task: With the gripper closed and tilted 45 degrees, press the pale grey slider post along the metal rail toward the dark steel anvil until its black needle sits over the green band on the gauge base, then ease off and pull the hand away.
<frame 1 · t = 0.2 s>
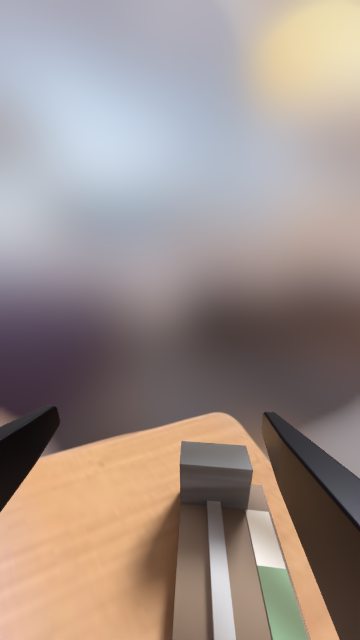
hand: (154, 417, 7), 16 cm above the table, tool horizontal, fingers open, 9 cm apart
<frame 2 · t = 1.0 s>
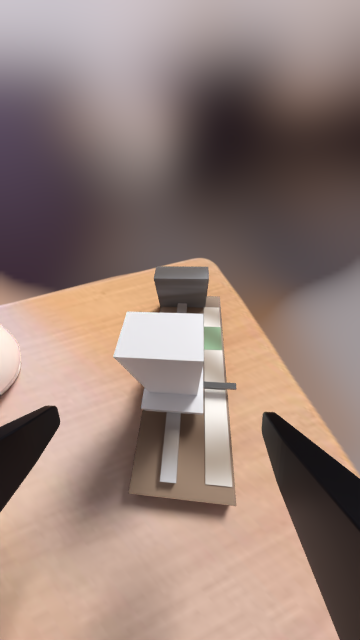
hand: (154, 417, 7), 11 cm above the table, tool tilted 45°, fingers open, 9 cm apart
slider: (192, 368, 12), point 7 cm above the table, slide at 0.0 cm
gauge base: (187, 370, 19), on the table
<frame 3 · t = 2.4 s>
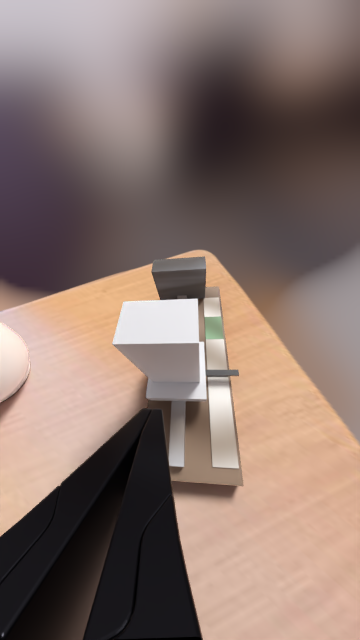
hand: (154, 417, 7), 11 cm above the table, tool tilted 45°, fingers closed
lidded jar: (7, 377, 21), on the table
slider: (192, 355, 12), point 7 cm above the table, slide at 0.0 cm
gauge base: (190, 361, 19), on the table
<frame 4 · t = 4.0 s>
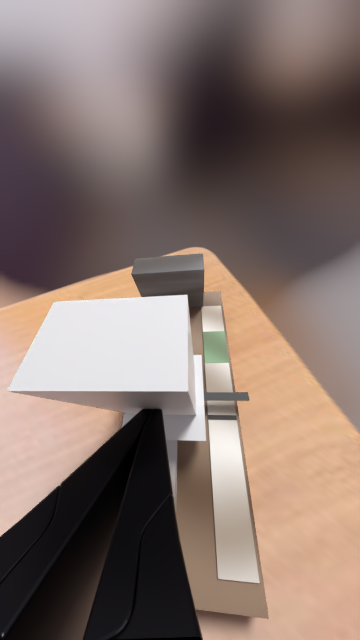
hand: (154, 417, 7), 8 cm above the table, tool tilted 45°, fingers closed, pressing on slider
slider: (184, 381, 8), point 7 cm above the table, slide at 1.3 cm, touching gripper
gauge base: (185, 391, 15), on the table
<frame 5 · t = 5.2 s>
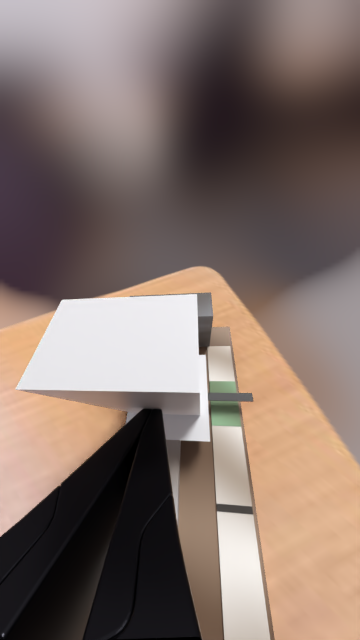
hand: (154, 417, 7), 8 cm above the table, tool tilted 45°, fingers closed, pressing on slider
slider: (189, 381, 8), point 7 cm above the table, slide at 5.7 cm, touching gripper
gauge base: (187, 456, 12), on the table
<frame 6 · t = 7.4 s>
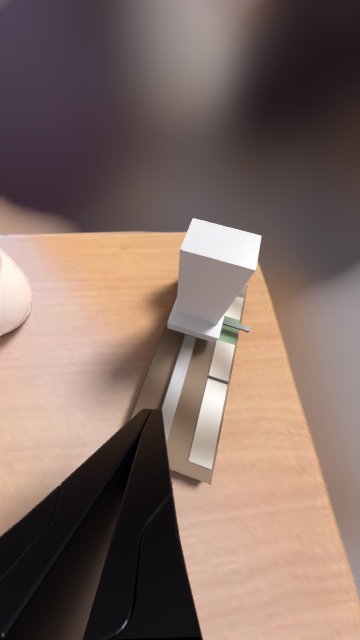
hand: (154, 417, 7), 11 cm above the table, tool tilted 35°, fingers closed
lidded jar: (5, 312, 20), on the table
slider: (224, 296, 13), point 7 cm above the table, slide at 5.7 cm
gauge base: (194, 354, 19), on the table
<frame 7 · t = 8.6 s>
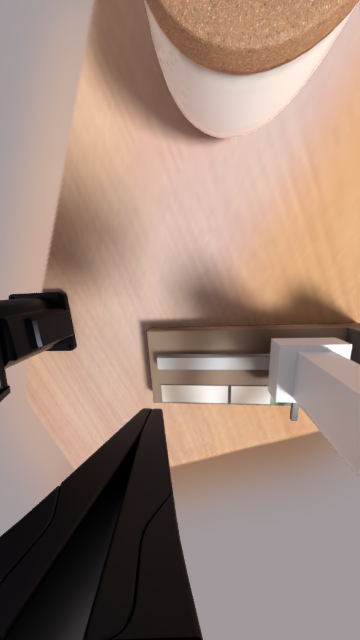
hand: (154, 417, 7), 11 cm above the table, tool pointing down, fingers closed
lidded jar: (229, 92, 13), on the table
slider: (342, 424, 10), point 7 cm above the table, slide at 5.7 cm
gauge base: (246, 362, 18), on the table
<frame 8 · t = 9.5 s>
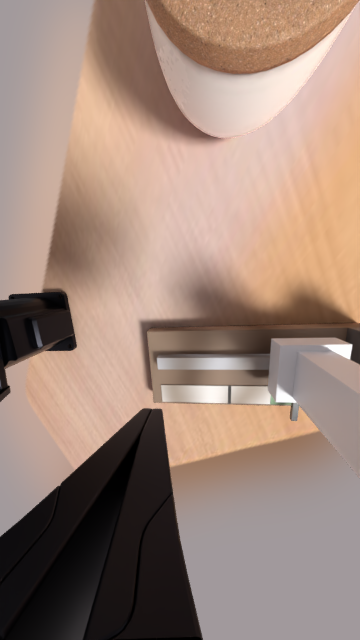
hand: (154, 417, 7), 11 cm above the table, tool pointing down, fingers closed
lidded jar: (229, 92, 13), on the table
slider: (342, 425, 10), point 7 cm above the table, slide at 5.7 cm
gauge base: (246, 362, 18), on the table
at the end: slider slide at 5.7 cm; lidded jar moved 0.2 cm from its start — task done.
